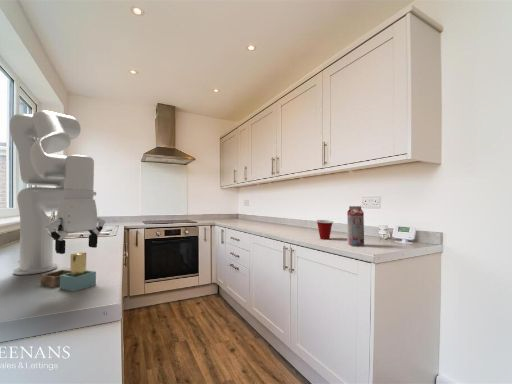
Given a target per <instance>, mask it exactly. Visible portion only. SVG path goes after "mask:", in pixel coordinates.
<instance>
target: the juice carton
mask: <svg viewBox="0 0 512 384" xmlns="http://www.w3.org/2000/svg"><path fill="white" fill-rule="evenodd" d="M346 215H347V245H349V246H350V247H365V219H364V218H365V216H364V211H363V209H362V205H357V206H356V205H354V206H353V205H349V206H348V210H347V214H346Z"/></svg>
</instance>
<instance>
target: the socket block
mask: <svg viewBox="0 0 512 384" xmlns="http://www.w3.org/2000/svg"><path fill="white" fill-rule="evenodd" d="M67 273H70V270H68V269H61V270H57V271H53V272H48V273H44V274H41V275H40V285H41V286H46V287H50V288H57V287H60V275H63V274H67Z"/></svg>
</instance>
